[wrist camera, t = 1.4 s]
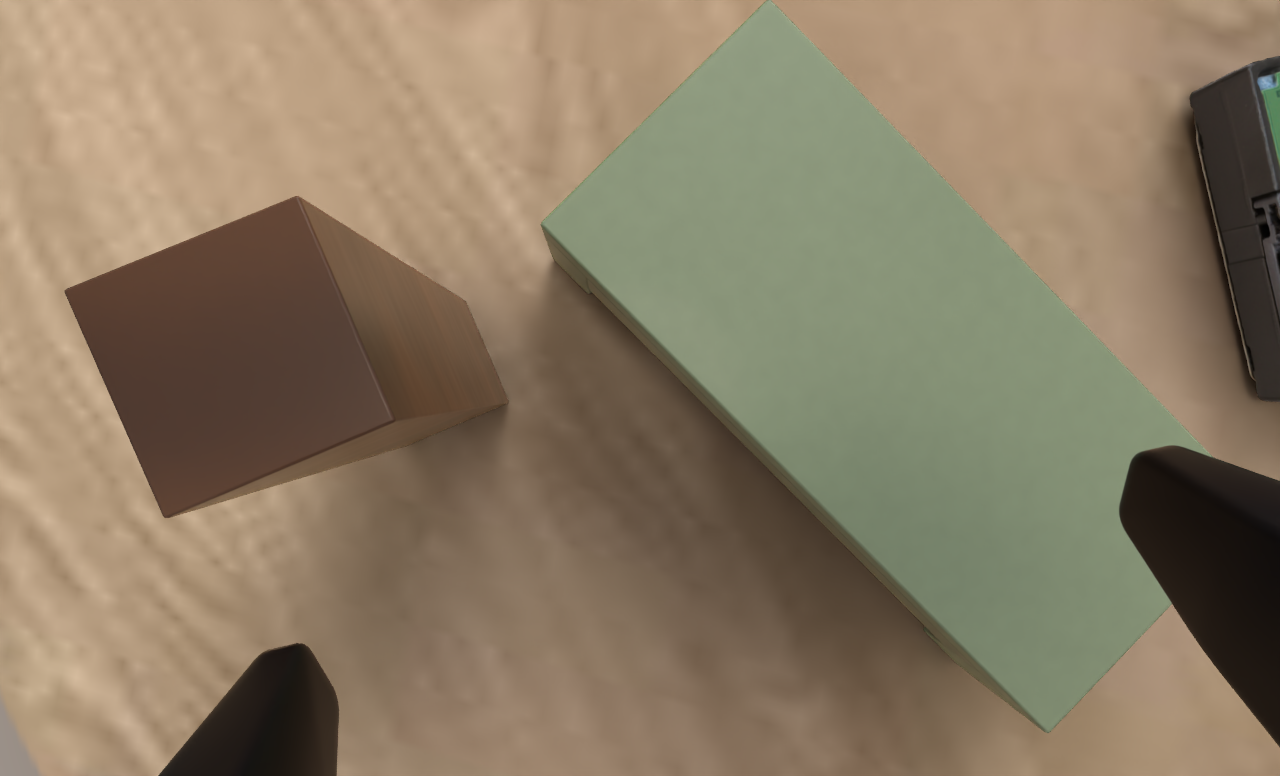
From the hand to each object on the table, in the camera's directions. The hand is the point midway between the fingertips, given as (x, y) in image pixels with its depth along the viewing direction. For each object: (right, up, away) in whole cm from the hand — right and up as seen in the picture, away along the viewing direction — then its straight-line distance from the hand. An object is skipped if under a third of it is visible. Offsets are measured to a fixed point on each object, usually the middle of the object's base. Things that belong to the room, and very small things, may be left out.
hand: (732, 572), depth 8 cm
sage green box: (+6, +2, +16) cm, 17 cm away
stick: (-7, +2, +15) cm, 17 cm away
